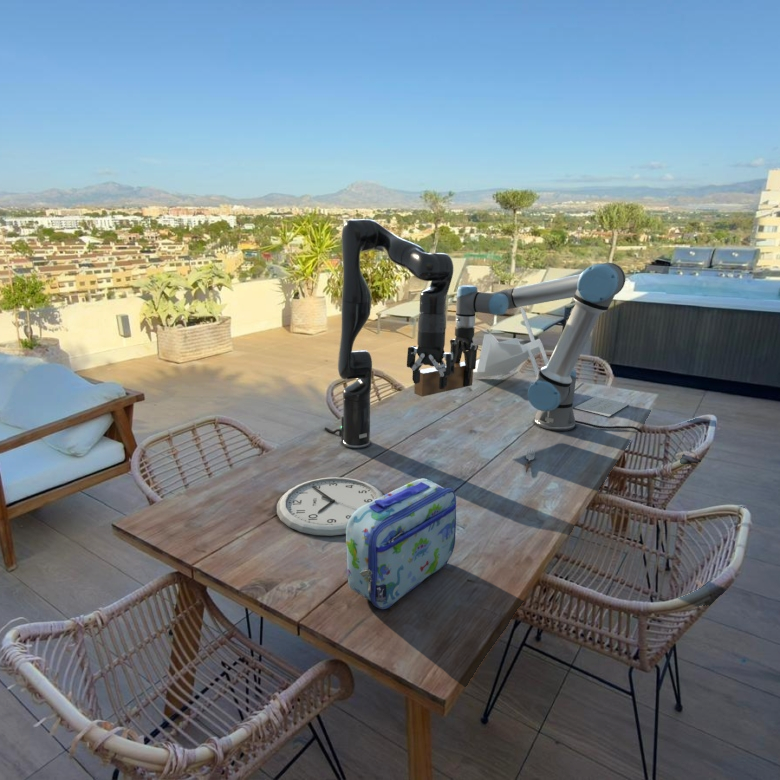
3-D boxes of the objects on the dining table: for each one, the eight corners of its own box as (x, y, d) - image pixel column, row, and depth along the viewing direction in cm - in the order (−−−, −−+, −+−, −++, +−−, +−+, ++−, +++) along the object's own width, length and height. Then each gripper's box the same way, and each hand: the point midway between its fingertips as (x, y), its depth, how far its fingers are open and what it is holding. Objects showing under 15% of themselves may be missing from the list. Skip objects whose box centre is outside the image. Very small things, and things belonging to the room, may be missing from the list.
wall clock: (392, 527, 129) (268, 531, 127) (391, 533, 130) (269, 537, 127) (383, 473, 158) (282, 475, 155) (383, 478, 158) (282, 480, 156)
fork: (521, 473, 163) (522, 467, 162) (527, 453, 177) (527, 448, 177) (530, 474, 162) (530, 468, 162) (535, 454, 176) (535, 449, 176)
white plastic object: (490, 419, 265) (470, 397, 240) (471, 347, 287) (451, 319, 262) (561, 395, 253) (548, 369, 228) (536, 321, 275) (521, 290, 250)
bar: (463, 382, 213) (465, 361, 210) (472, 385, 209) (473, 363, 207) (414, 393, 198) (414, 370, 196) (422, 396, 195) (423, 373, 192)
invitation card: (608, 416, 214) (573, 407, 224) (608, 416, 214) (573, 408, 224) (628, 404, 229) (594, 396, 238) (628, 405, 229) (594, 397, 238)
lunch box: (375, 622, 100) (376, 527, 94) (339, 595, 108) (338, 505, 101) (459, 565, 118) (465, 481, 112) (424, 545, 125) (427, 465, 119)
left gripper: (402, 327, 143) (400, 384, 148) (447, 334, 135) (444, 394, 140) (417, 323, 149) (415, 378, 154) (461, 330, 141) (458, 387, 146)
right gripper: (442, 323, 207) (439, 380, 214) (474, 331, 193) (470, 391, 200) (456, 321, 211) (453, 377, 218) (488, 329, 197) (484, 388, 204)
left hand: (429, 385), depth 147 cm, fingers open, 8 cm apart
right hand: (461, 383), depth 209 cm, fingers closed on bar, 5 cm apart
